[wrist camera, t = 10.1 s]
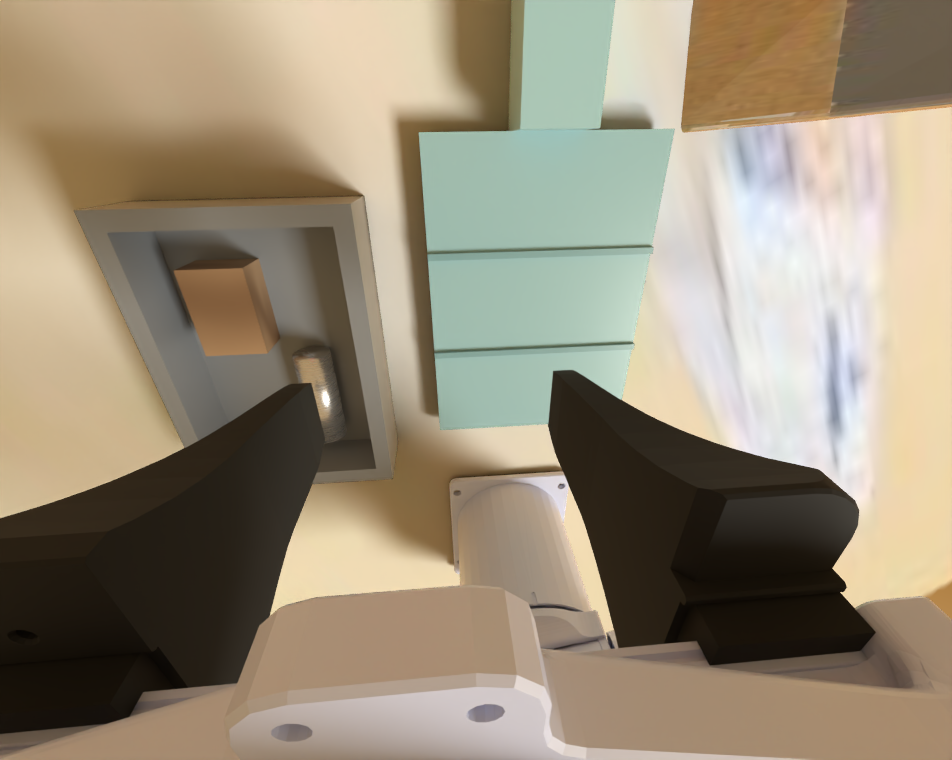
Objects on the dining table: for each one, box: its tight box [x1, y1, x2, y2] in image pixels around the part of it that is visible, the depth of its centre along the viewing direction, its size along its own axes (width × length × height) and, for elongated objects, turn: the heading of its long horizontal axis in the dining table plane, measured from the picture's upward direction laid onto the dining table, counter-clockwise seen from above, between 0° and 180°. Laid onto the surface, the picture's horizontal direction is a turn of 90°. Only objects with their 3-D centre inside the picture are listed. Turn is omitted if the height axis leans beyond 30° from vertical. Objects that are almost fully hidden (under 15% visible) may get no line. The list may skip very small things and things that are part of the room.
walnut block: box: [173, 258, 280, 356], centre depth 19 cm, size 4×3×2 cm
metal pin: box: [292, 346, 347, 444], centre depth 22 cm, size 5×2×2 cm, turn 1°
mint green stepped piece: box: [419, 0, 675, 430], centre depth 19 cm, size 20×11×3 cm, turn 1°
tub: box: [74, 196, 398, 484], centre depth 20 cm, size 14×10×3 cm
